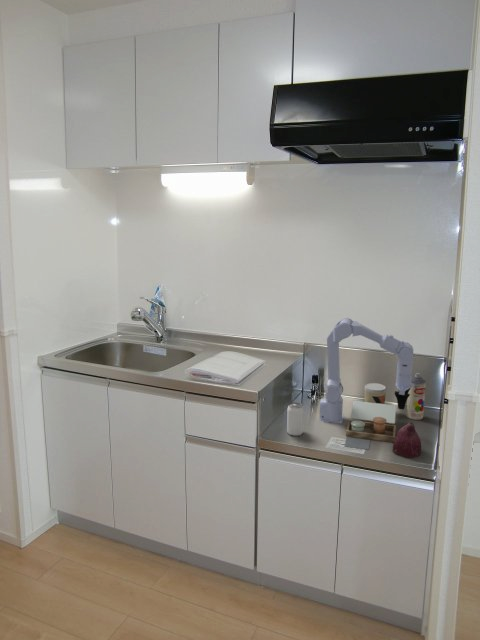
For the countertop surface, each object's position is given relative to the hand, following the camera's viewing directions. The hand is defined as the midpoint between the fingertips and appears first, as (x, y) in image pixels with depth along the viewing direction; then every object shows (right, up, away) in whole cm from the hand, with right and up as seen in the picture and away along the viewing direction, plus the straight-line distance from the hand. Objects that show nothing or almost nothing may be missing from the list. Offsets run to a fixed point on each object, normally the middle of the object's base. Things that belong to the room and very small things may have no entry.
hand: (402, 405), depth 202 cm
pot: (-10, -10, -2) cm, 15 cm away
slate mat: (-21, -13, -11) cm, 27 cm away
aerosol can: (+9, -8, +12) cm, 17 cm away
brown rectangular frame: (-12, -10, +1) cm, 16 cm away
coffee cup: (-6, -6, +18) cm, 20 cm away
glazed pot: (-19, -11, -2) cm, 22 cm away
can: (-44, -11, 0) cm, 45 cm away
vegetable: (-4, -15, -17) cm, 23 cm away
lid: (-10, -4, +6) cm, 12 cm away
